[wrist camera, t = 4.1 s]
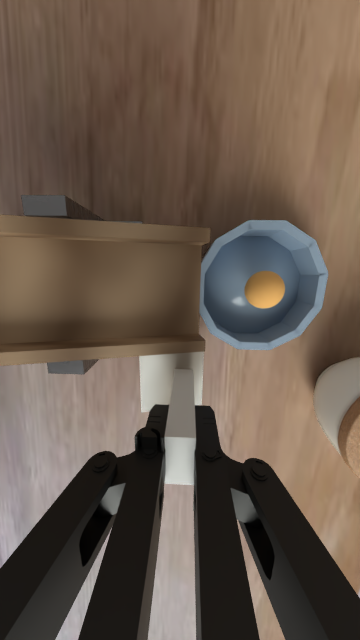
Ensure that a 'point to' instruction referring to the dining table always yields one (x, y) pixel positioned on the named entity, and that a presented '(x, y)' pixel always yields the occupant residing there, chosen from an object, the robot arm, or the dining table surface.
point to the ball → (264, 289)
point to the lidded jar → (341, 409)
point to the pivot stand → (65, 210)
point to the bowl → (249, 258)
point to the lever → (103, 296)
